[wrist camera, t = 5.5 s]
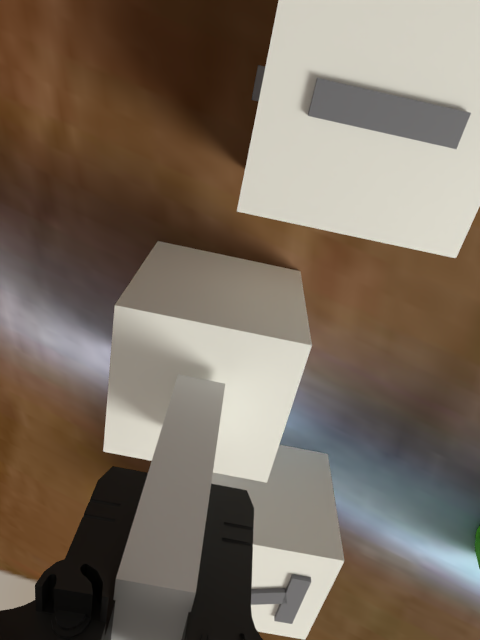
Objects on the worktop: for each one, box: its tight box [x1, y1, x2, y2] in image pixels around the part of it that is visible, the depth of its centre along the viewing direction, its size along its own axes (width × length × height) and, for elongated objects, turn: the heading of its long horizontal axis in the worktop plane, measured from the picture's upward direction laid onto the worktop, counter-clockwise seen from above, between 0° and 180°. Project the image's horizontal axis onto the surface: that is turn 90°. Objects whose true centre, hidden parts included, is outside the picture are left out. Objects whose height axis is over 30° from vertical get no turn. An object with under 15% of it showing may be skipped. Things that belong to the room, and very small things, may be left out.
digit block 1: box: [237, 0, 480, 258], centre depth 13 cm, size 6×6×6 cm
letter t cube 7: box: [211, 445, 344, 639], centre depth 22 cm, size 6×6×6 cm
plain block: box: [103, 241, 312, 483], centre depth 18 cm, size 6×6×6 cm
